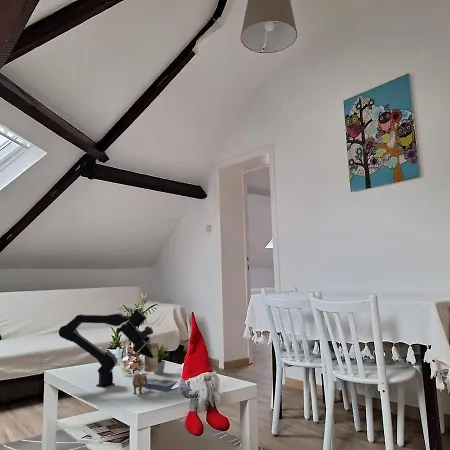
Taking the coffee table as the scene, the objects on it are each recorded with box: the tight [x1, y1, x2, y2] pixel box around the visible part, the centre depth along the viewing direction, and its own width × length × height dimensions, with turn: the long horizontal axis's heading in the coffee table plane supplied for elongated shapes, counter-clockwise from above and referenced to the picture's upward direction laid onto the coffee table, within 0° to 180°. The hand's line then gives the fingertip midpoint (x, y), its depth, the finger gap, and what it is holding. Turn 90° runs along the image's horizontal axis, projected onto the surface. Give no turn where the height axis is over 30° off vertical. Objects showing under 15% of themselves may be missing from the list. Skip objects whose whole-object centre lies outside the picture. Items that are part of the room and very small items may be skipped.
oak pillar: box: [144, 342, 159, 373], centre depth 197 cm, size 4×4×13 cm
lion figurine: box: [132, 373, 149, 395], centre depth 182 cm, size 15×5×9 cm, turn 178°
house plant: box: [153, 343, 173, 375], centre depth 218 cm, size 14×14×16 cm
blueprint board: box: [142, 377, 176, 392], centre depth 190 cm, size 19×9×2 cm, turn 56°
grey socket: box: [153, 378, 178, 387], centre depth 188 cm, size 8×8×1 cm
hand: (154, 356), depth 197 cm, fingers closed on oak pillar, 6 cm apart
